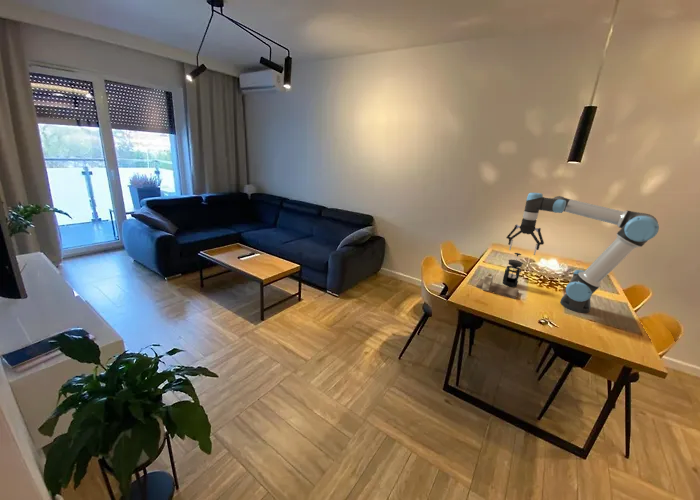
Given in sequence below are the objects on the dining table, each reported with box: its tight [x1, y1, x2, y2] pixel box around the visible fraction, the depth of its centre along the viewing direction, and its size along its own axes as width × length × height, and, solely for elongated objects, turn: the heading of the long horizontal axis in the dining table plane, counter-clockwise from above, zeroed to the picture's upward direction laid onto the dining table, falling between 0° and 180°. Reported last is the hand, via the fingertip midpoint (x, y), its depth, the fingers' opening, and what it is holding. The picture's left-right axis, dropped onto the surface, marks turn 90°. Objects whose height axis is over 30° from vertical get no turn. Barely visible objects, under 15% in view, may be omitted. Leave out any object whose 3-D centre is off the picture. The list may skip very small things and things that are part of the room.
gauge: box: [481, 272, 495, 292], centre depth 200 cm, size 4×8×10 cm, turn 145°
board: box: [475, 278, 520, 300], centre depth 202 cm, size 24×12×2 cm, turn 55°
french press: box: [501, 252, 524, 288], centre depth 208 cm, size 12×9×23 cm
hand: (521, 252), depth 189 cm, fingers open, 13 cm apart
